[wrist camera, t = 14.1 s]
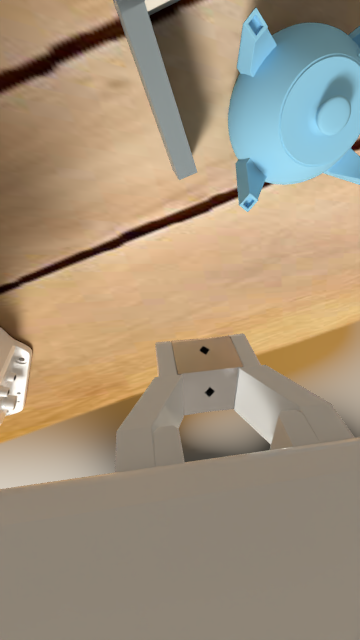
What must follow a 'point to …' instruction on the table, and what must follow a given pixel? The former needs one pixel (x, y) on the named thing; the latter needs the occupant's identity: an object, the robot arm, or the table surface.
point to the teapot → (294, 106)
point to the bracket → (156, 79)
